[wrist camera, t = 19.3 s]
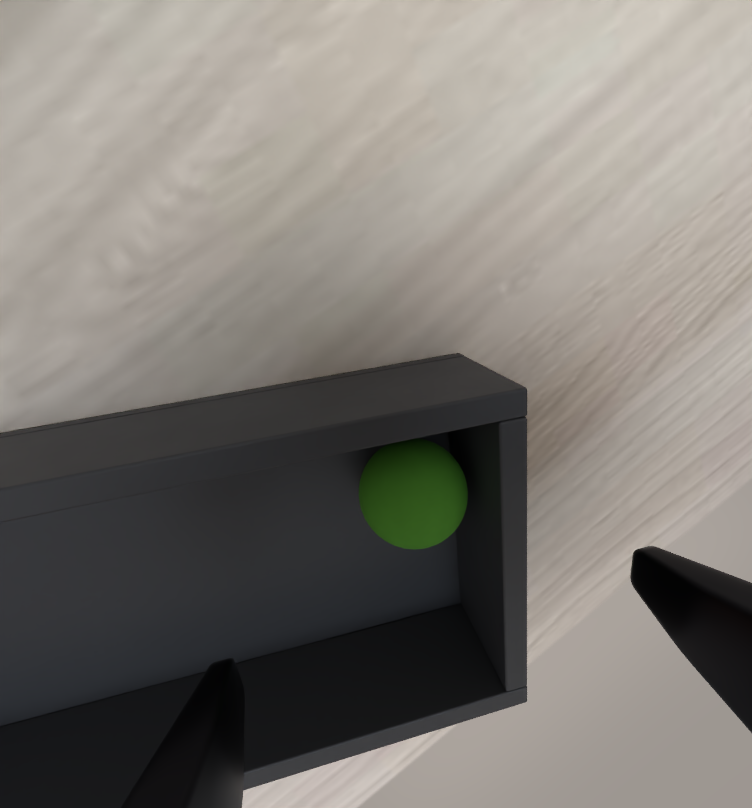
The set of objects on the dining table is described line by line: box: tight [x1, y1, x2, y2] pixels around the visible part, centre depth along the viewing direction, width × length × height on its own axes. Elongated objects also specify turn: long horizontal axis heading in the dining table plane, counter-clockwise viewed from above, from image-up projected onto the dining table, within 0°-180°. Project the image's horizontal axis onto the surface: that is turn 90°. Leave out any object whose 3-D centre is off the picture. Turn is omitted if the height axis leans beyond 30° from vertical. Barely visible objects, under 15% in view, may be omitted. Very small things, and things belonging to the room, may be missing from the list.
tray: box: [0, 353, 527, 808], centre depth 12 cm, size 12×26×4 cm, turn 97°
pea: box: [359, 438, 468, 549], centre depth 13 cm, size 4×4×4 cm
